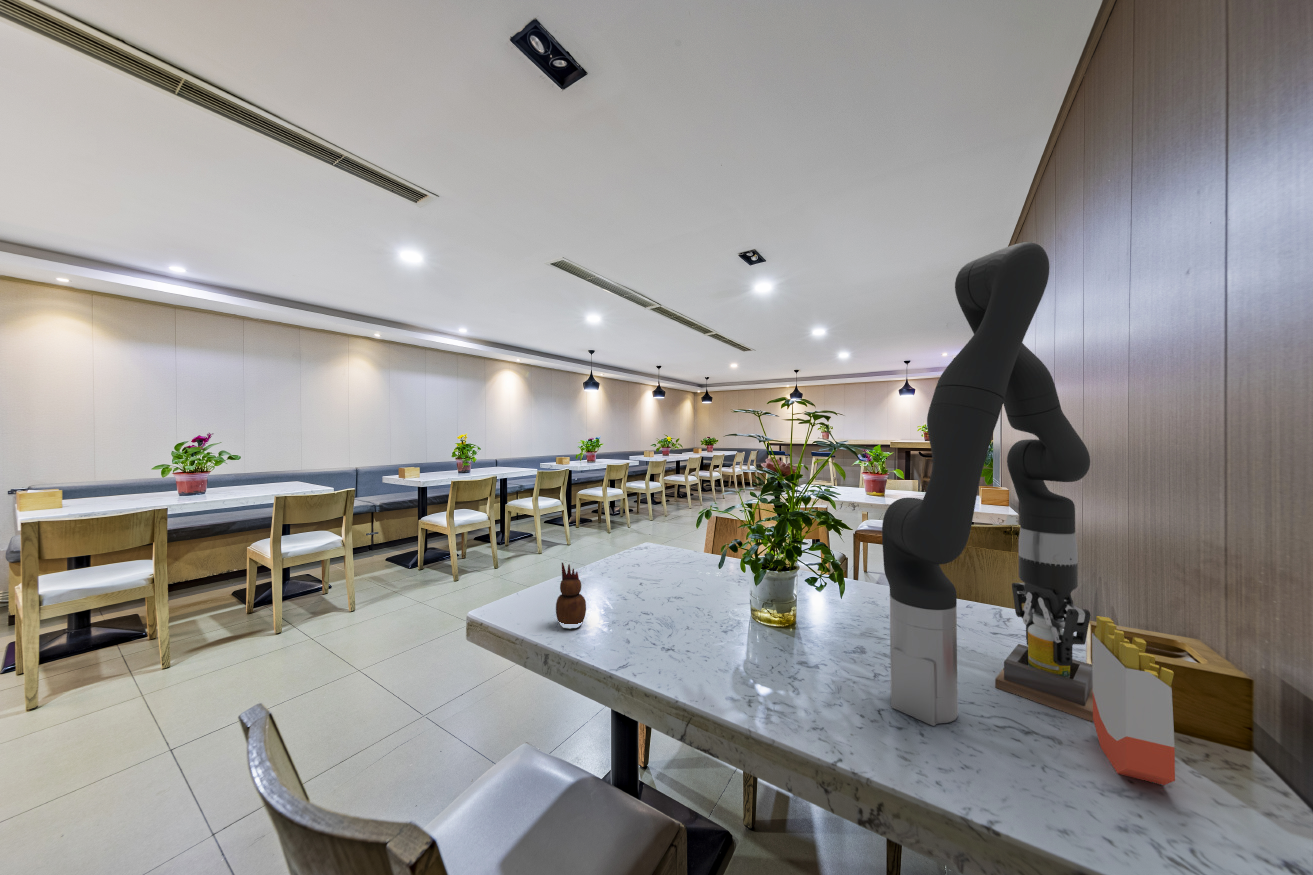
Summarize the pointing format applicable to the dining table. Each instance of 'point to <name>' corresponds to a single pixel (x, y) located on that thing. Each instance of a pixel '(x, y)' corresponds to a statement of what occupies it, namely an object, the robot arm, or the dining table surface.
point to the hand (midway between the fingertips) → (1047, 654)
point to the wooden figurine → (570, 599)
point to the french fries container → (1132, 706)
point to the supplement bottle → (1043, 647)
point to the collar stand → (1049, 684)
